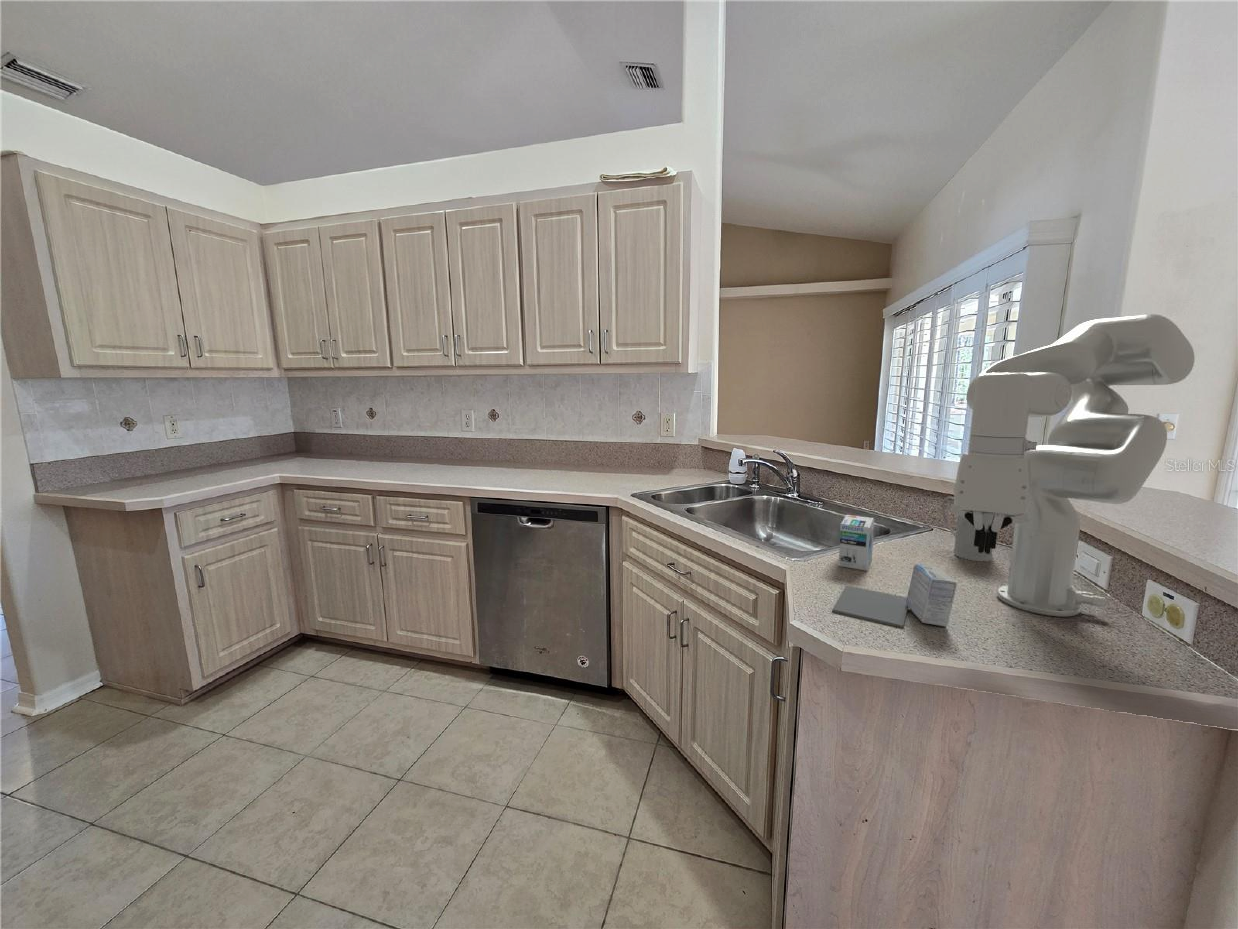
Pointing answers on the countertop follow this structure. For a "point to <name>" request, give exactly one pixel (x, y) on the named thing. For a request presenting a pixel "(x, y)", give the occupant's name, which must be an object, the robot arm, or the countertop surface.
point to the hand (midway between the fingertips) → (983, 551)
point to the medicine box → (931, 595)
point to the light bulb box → (856, 542)
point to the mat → (872, 606)
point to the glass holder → (968, 537)
